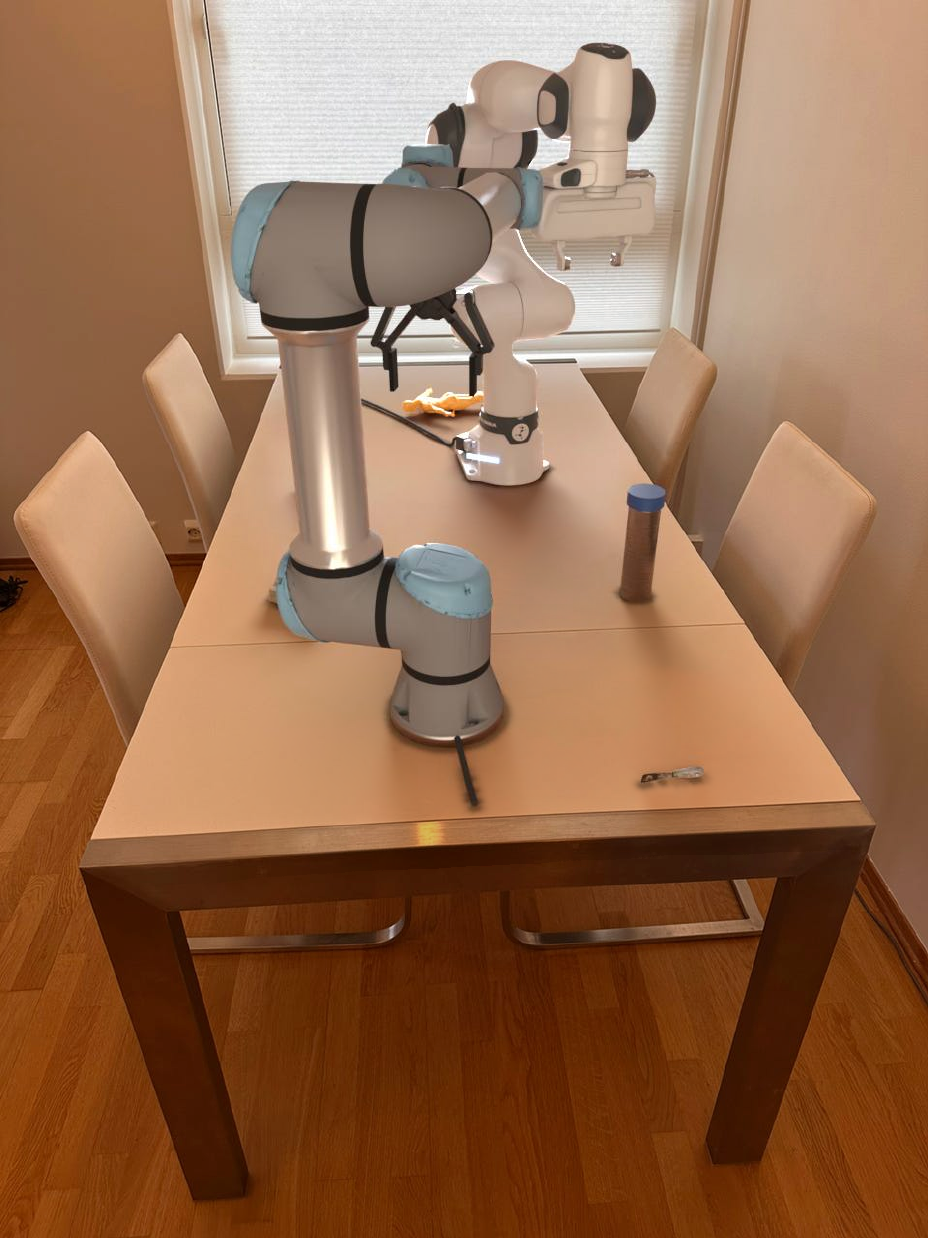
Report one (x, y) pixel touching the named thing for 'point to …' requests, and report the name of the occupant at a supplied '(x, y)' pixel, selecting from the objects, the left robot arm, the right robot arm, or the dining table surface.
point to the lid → (646, 497)
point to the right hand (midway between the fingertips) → (590, 267)
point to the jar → (639, 555)
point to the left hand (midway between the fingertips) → (433, 391)
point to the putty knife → (674, 774)
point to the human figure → (442, 402)
